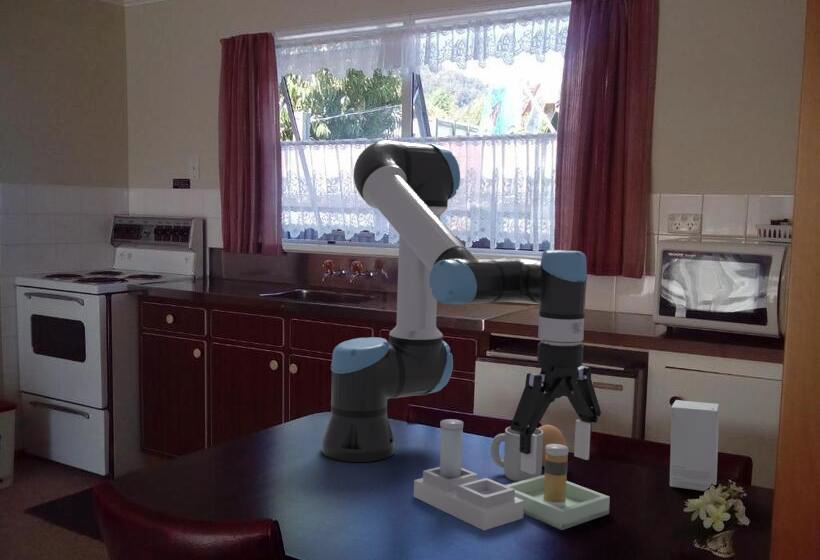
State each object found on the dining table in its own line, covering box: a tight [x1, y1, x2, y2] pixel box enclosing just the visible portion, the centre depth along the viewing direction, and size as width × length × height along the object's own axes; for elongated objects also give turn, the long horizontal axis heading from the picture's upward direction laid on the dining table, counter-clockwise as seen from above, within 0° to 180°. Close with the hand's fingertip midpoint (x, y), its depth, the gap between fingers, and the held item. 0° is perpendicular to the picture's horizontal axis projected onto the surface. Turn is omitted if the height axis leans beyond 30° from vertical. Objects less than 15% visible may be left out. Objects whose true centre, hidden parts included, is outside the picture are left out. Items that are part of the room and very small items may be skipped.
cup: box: [490, 425, 543, 482], centre depth 150 cm, size 7×10×9 cm
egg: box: [538, 424, 567, 468], centre depth 156 cm, size 7×7×8 cm
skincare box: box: [669, 399, 720, 492], centre depth 147 cm, size 8×7×16 cm
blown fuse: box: [543, 444, 569, 508], centre depth 133 cm, size 4×4×10 cm
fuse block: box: [413, 418, 524, 532], centre depth 133 cm, size 18×9×14 cm, turn 38°
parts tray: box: [504, 474, 611, 531], centre depth 134 cm, size 14×12×3 cm
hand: (555, 464), depth 133 cm, fingers open, 13 cm apart
